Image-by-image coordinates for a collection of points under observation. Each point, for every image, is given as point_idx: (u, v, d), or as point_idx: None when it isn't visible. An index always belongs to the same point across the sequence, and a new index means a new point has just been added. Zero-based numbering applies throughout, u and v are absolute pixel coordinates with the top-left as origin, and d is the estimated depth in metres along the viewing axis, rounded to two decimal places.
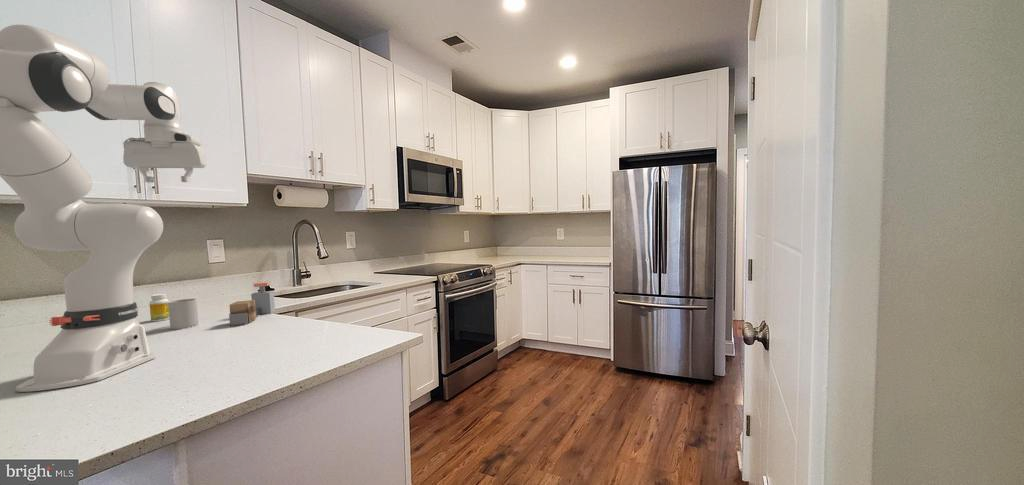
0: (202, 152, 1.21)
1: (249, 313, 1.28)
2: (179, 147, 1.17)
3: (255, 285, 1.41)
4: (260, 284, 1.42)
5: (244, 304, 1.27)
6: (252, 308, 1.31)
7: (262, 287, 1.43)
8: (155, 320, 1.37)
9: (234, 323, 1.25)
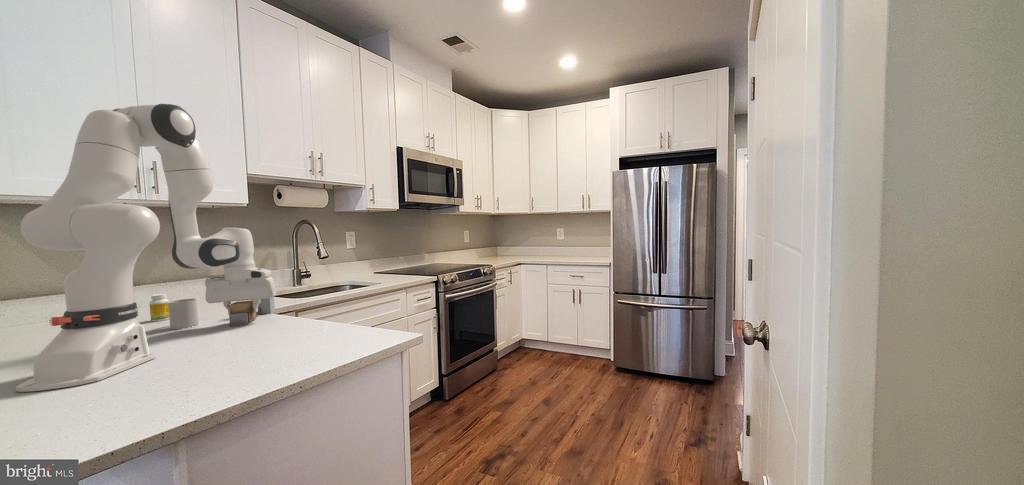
0: (273, 283, 1.32)
1: (249, 313, 1.28)
2: (254, 282, 1.28)
3: None
4: None
5: (244, 304, 1.27)
6: None
7: None
8: (155, 320, 1.37)
9: (234, 323, 1.25)
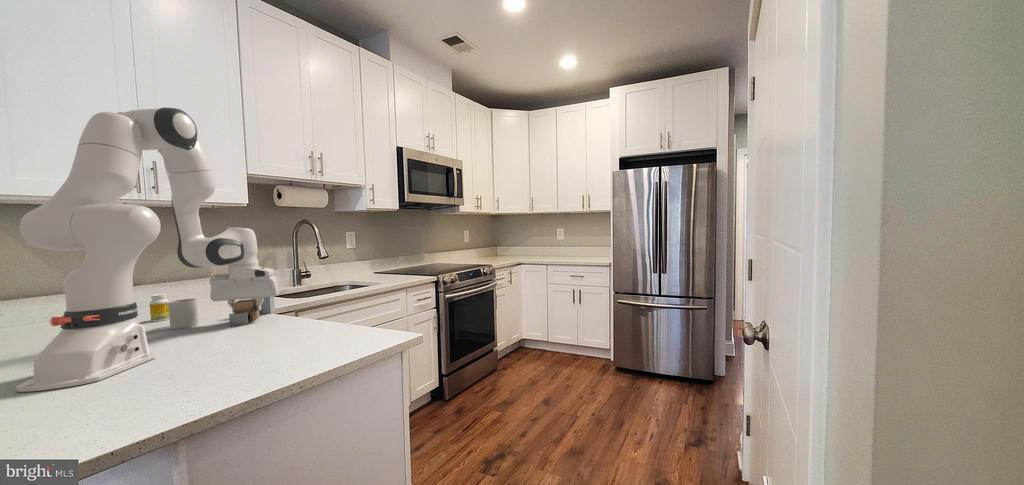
0: (276, 282, 1.35)
1: (253, 311, 1.31)
2: (258, 281, 1.31)
3: None
4: None
5: (248, 302, 1.30)
6: None
7: None
8: (155, 320, 1.37)
9: (234, 323, 1.25)
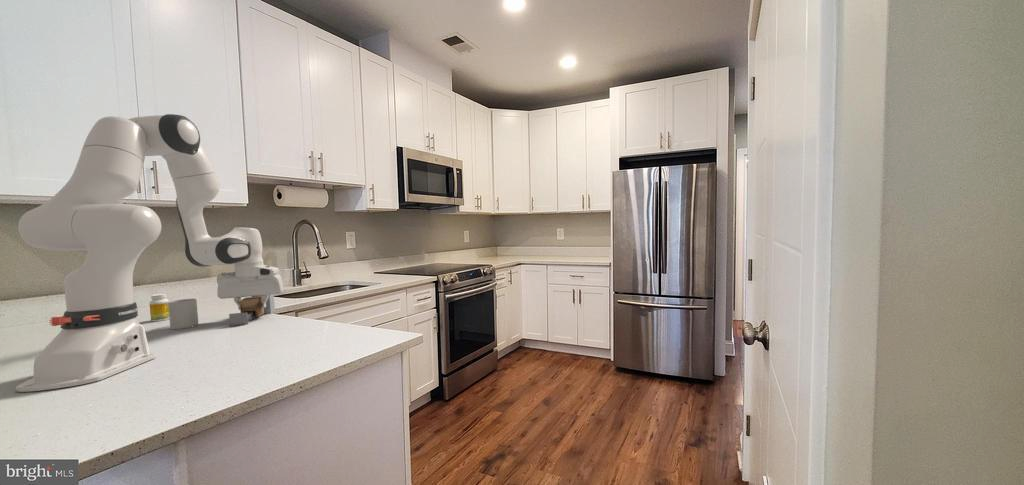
0: (281, 280, 1.40)
1: (258, 308, 1.36)
2: (263, 279, 1.36)
3: None
4: None
5: (253, 300, 1.35)
6: None
7: None
8: (155, 320, 1.37)
9: (234, 323, 1.25)
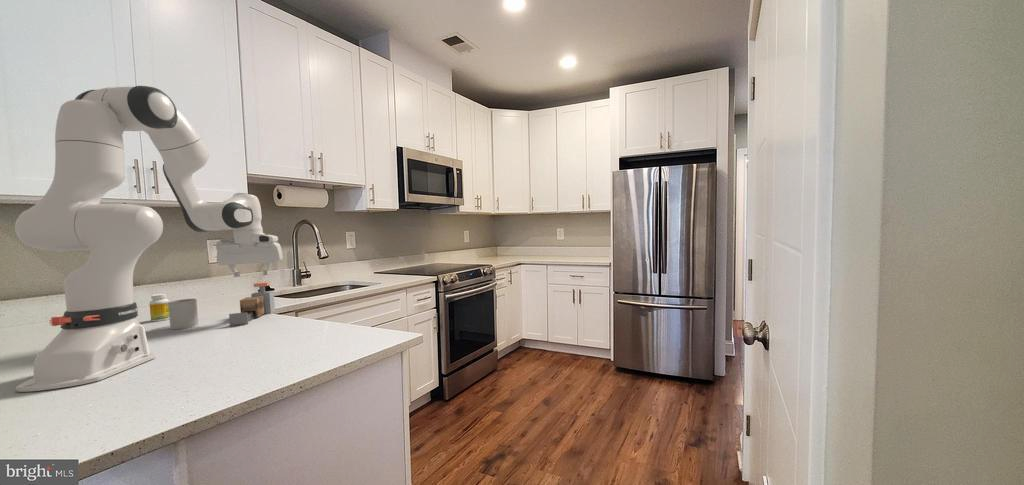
0: (280, 248, 1.41)
1: (258, 308, 1.36)
2: (262, 246, 1.36)
3: (255, 285, 1.41)
4: (260, 284, 1.42)
5: (253, 300, 1.35)
6: (261, 304, 1.39)
7: (262, 287, 1.43)
8: (155, 320, 1.37)
9: (234, 323, 1.25)
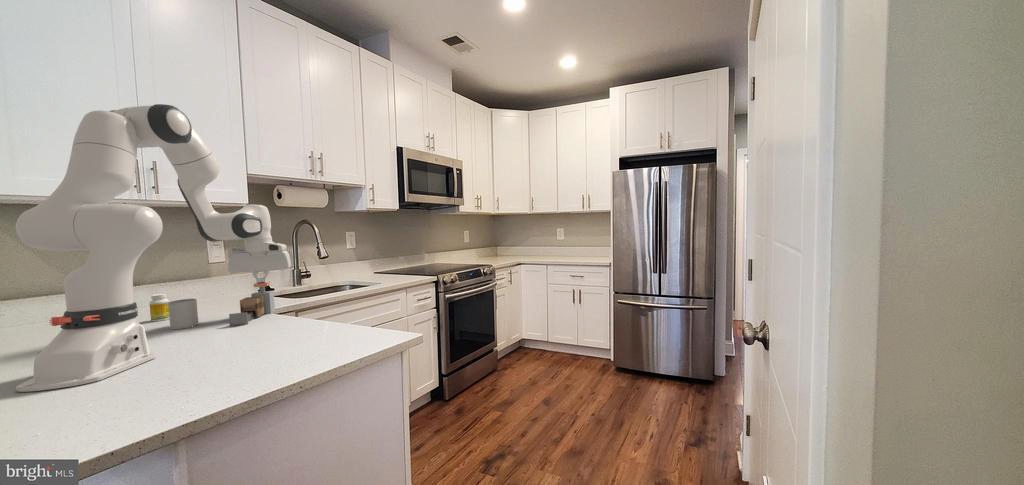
0: (288, 256, 1.46)
1: (258, 308, 1.36)
2: (272, 255, 1.42)
3: (255, 285, 1.41)
4: (260, 284, 1.42)
5: (253, 300, 1.35)
6: (261, 304, 1.39)
7: (262, 287, 1.43)
8: (155, 320, 1.37)
9: (234, 323, 1.25)
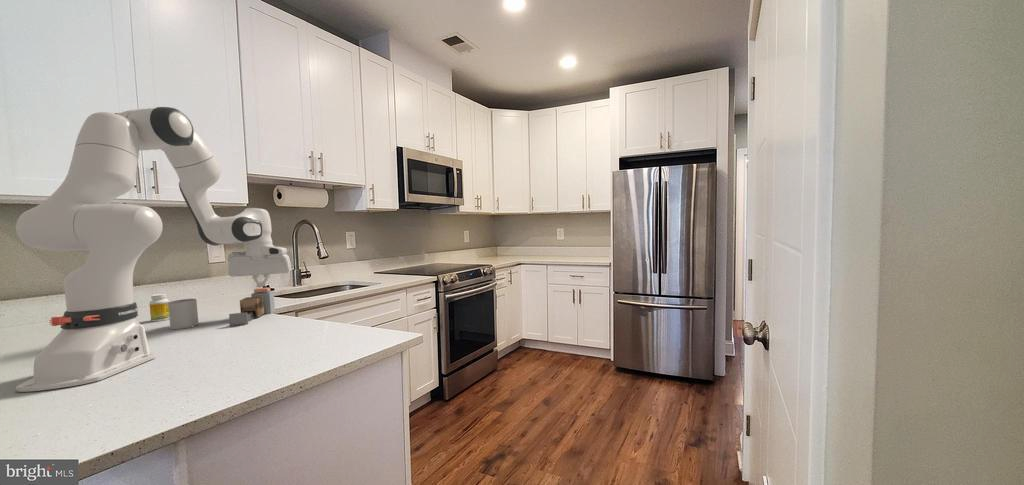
0: (289, 259, 1.46)
1: (258, 308, 1.36)
2: (272, 258, 1.42)
3: (255, 291, 1.42)
4: (260, 290, 1.42)
5: (253, 300, 1.35)
6: (261, 304, 1.39)
7: None
8: (155, 320, 1.37)
9: (234, 323, 1.25)
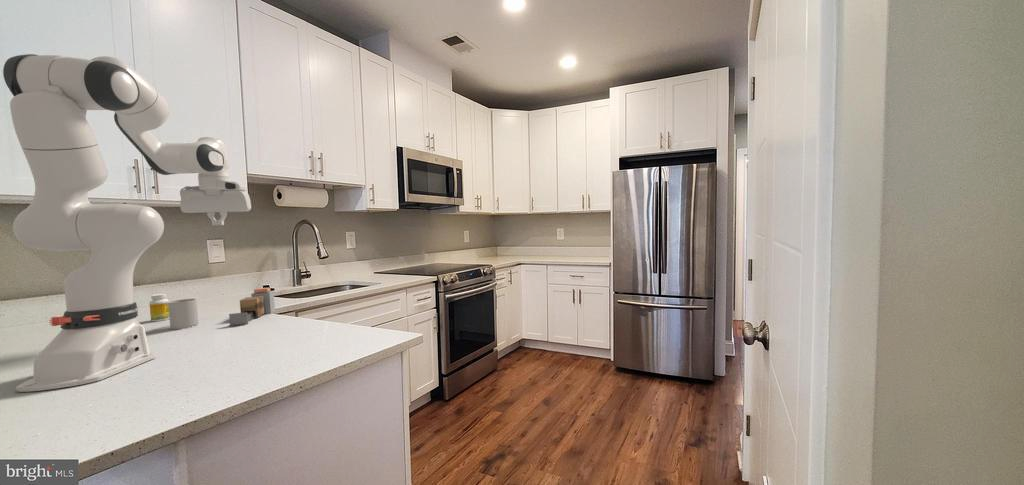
0: (248, 197, 1.35)
1: (258, 308, 1.36)
2: (229, 194, 1.31)
3: (255, 291, 1.42)
4: (260, 290, 1.42)
5: (253, 300, 1.35)
6: (261, 304, 1.39)
7: None
8: (155, 320, 1.37)
9: (234, 323, 1.25)
